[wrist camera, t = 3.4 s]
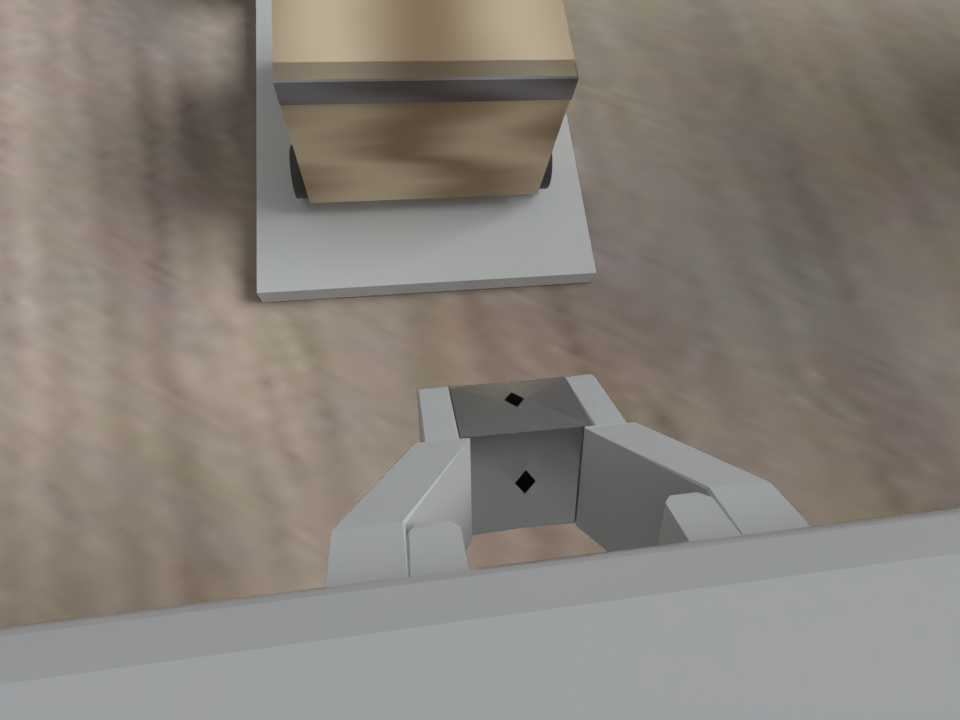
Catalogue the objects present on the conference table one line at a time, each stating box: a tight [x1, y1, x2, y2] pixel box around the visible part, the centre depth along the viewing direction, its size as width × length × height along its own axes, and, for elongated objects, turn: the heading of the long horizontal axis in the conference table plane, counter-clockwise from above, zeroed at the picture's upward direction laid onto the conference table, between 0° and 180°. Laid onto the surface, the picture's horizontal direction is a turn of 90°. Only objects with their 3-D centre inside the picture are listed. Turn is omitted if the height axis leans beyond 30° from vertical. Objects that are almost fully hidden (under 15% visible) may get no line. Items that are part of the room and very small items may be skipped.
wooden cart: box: [272, 0, 579, 203], centre depth 24 cm, size 11×9×8 cm
